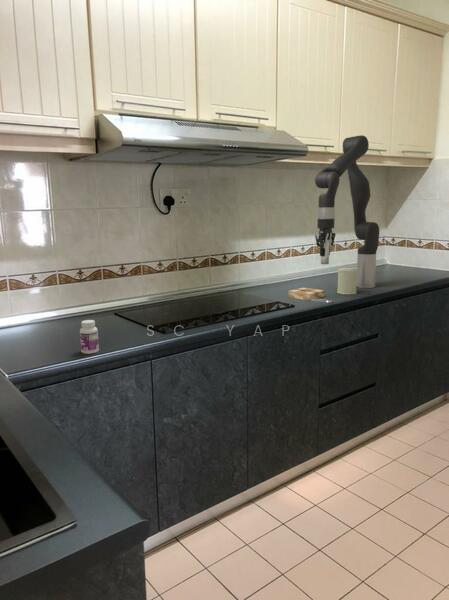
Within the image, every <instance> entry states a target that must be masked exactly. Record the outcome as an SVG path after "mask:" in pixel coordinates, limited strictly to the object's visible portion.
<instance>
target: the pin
mask: <svg viewBox="0 0 449 600" xmlns="http://www.w3.org/2000/svg"><path fill="white" fill-rule="evenodd" d="M322 241H325V240H322ZM329 241H330V240H327V243H326V244H325V256H320V265H329V264H330V255H329Z"/></svg>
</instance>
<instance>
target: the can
mask: <svg viewBox="0 0 449 600" xmlns="http://www.w3.org/2000/svg"><path fill="white" fill-rule="evenodd" d="M356 285H357V268H352V267H341V268H337V291H336V293H337V294H339V295H340V294H341V295H347V296H348V295H355V294H357V287H356Z"/></svg>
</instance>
